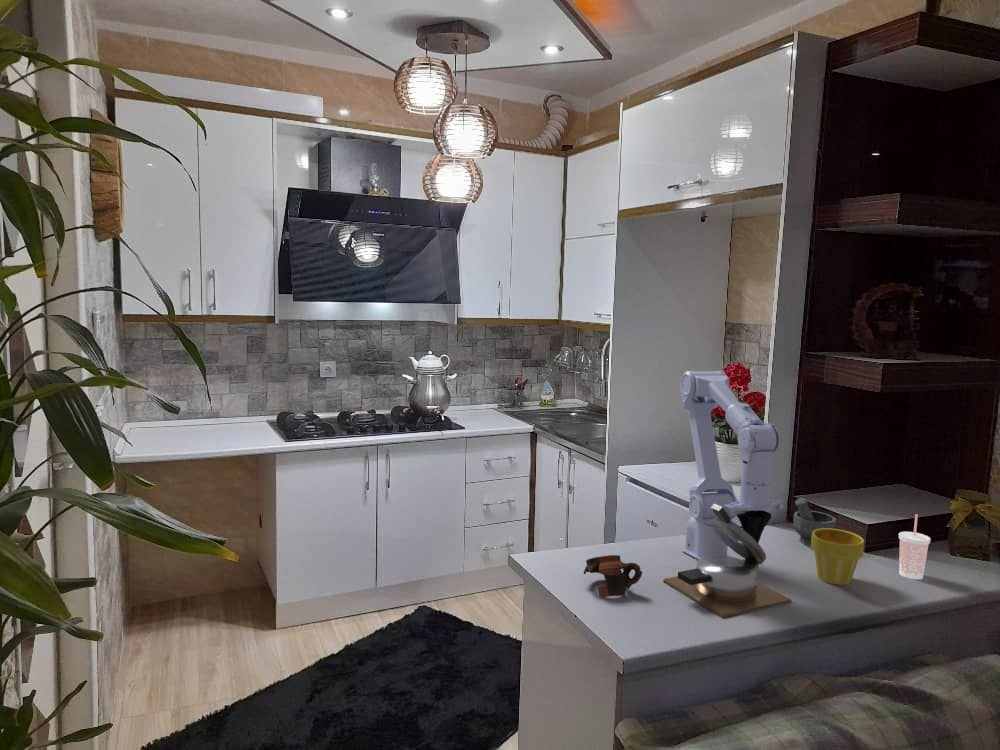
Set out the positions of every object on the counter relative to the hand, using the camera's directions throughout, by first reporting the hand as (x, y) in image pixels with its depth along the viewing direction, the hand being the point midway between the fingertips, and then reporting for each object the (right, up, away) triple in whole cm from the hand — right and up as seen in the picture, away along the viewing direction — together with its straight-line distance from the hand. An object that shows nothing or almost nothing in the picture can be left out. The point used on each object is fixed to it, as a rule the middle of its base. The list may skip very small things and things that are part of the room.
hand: (751, 544), depth 148 cm
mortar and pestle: (+25, -7, +28) cm, 38 cm away
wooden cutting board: (-6, -9, -1) cm, 11 cm away
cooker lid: (-5, +2, -2) cm, 6 cm away
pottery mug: (-29, -9, -1) cm, 31 cm away
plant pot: (+20, -9, +6) cm, 23 cm away
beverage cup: (+39, -9, +9) cm, 41 cm away
